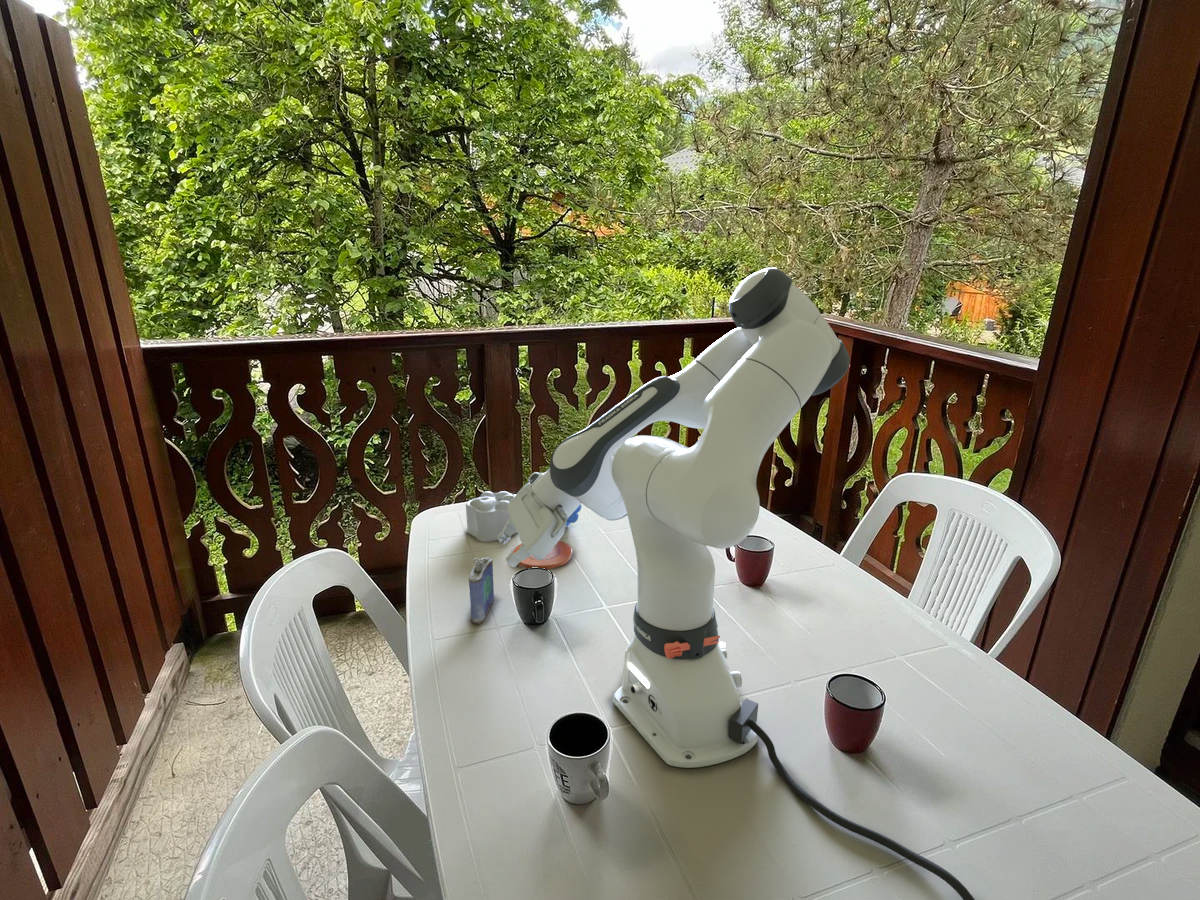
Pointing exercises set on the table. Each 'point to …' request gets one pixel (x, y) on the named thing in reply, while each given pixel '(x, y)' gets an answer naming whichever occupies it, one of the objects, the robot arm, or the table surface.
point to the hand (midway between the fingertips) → (504, 552)
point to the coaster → (549, 557)
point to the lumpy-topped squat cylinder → (488, 515)
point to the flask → (481, 589)
